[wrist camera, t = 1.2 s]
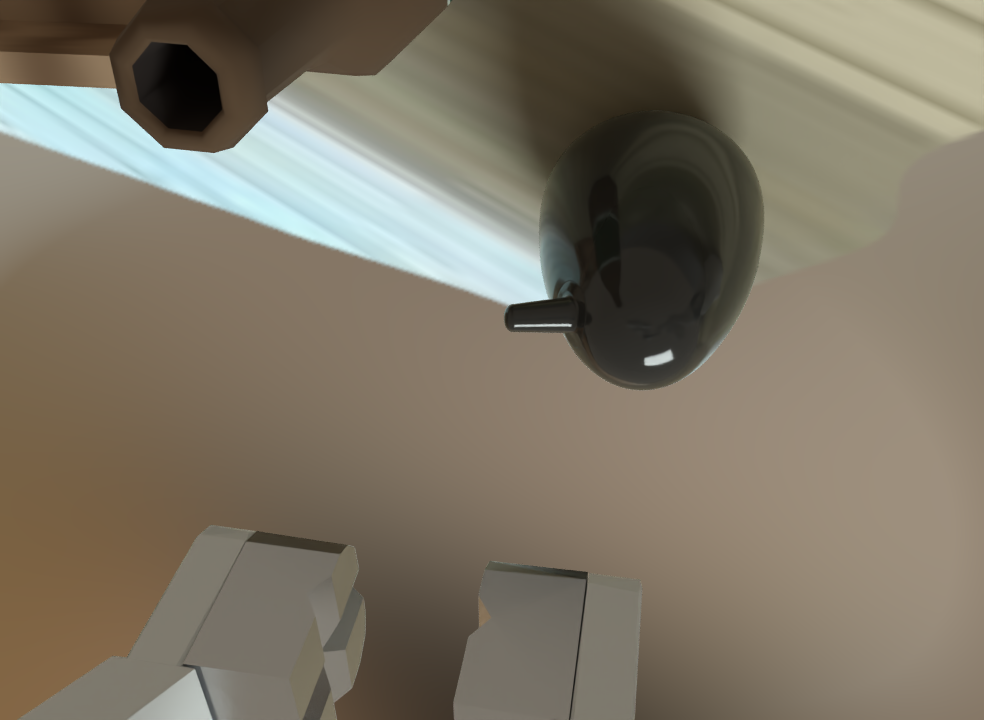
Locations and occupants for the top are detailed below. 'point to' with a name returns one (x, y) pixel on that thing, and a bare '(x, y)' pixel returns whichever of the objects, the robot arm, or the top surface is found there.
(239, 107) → the beer bottle
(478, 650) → the robot arm
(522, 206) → the top surface
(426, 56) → the top surface
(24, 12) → the u rest
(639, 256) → the dark grey oval piece
